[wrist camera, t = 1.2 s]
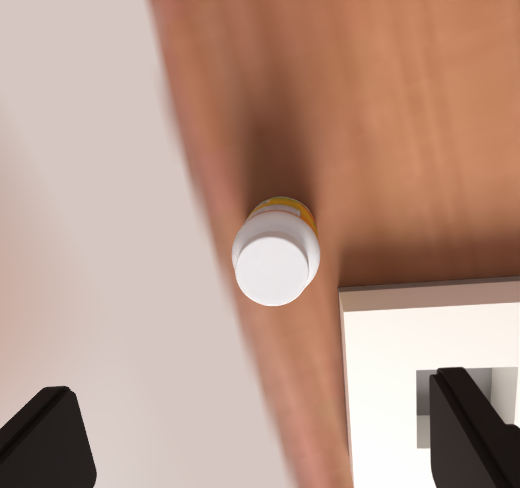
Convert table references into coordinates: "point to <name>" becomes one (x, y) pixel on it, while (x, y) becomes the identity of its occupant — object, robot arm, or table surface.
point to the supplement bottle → (276, 251)
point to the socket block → (421, 366)
